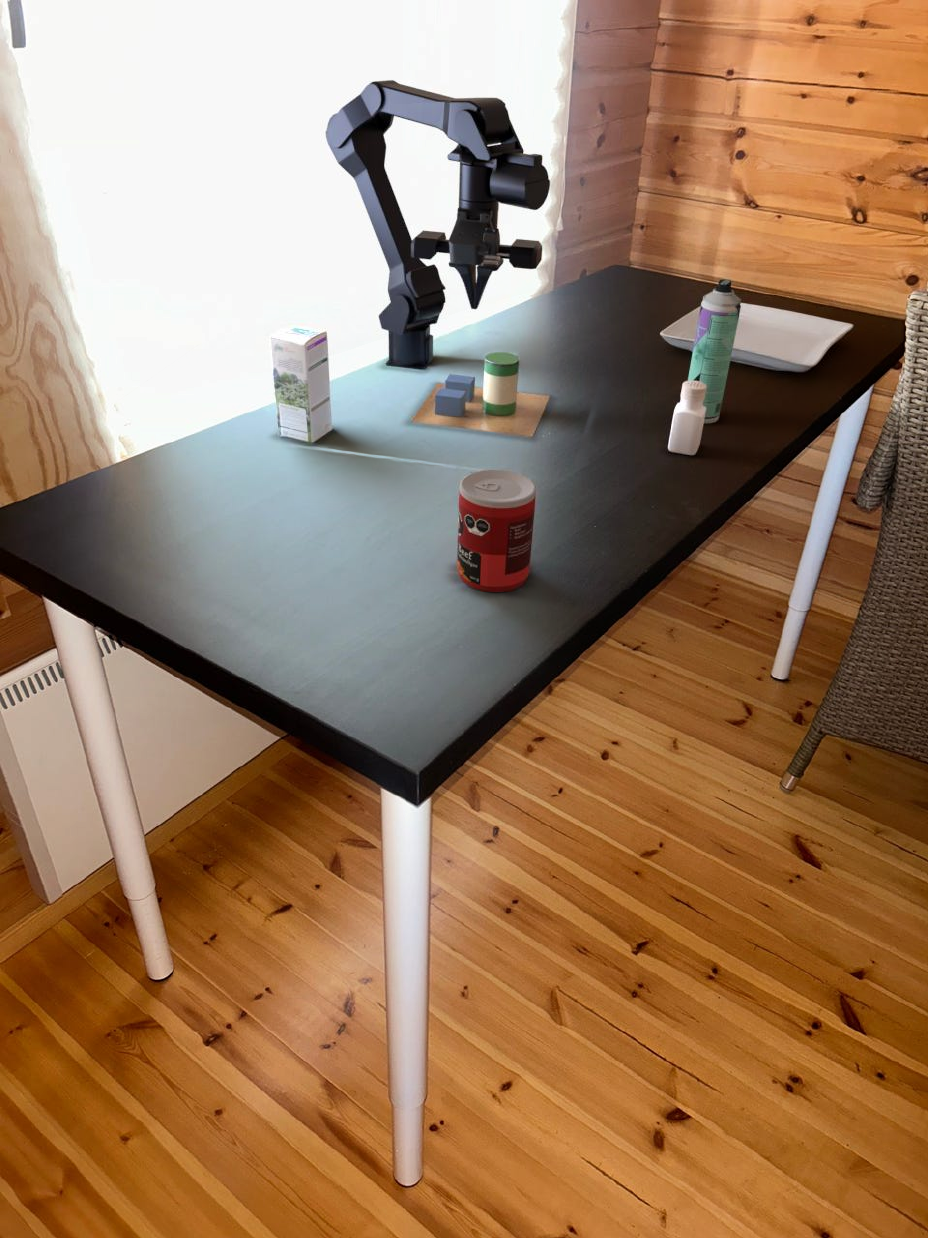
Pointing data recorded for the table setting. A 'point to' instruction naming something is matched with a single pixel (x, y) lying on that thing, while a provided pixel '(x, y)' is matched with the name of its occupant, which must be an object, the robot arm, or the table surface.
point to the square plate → (769, 337)
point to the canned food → (495, 529)
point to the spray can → (715, 345)
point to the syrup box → (301, 382)
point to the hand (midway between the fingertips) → (474, 308)
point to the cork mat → (476, 419)
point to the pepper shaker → (688, 419)
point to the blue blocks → (454, 395)
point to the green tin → (500, 384)
